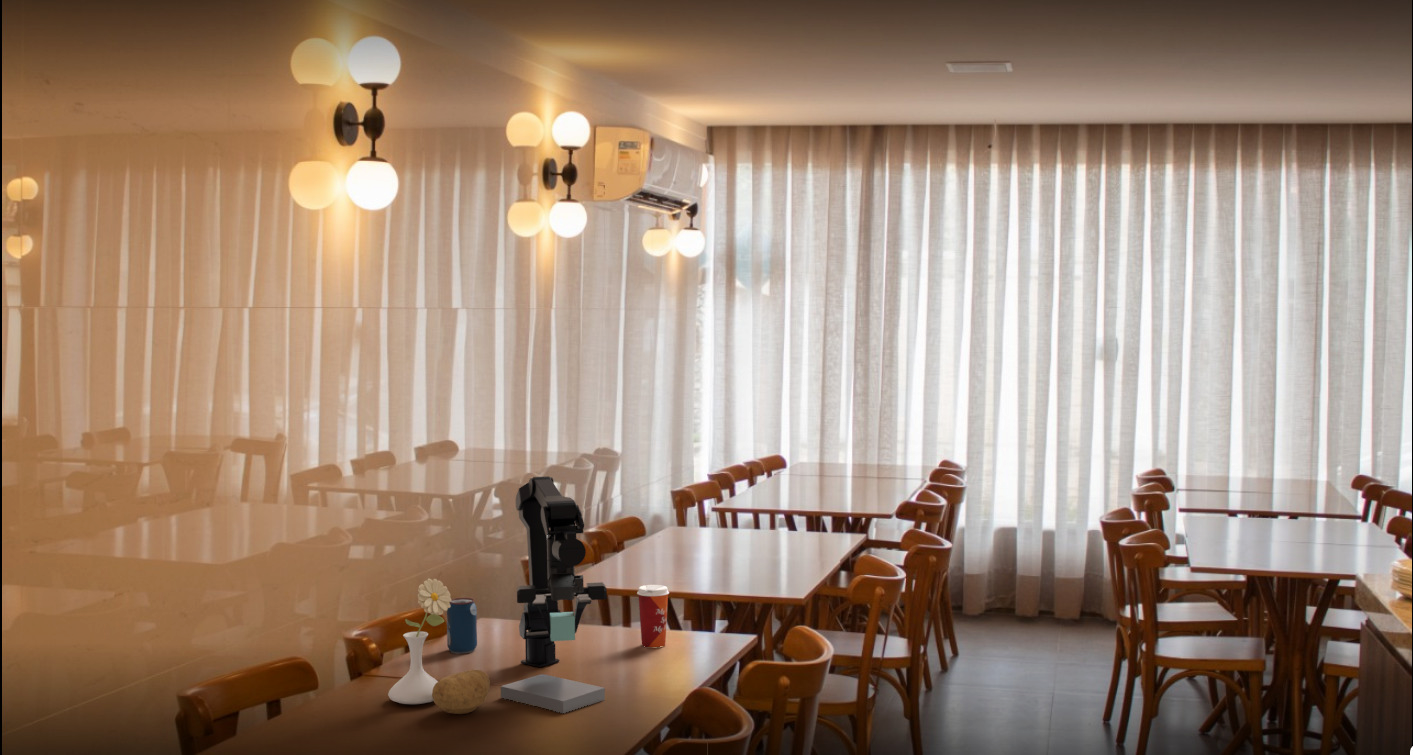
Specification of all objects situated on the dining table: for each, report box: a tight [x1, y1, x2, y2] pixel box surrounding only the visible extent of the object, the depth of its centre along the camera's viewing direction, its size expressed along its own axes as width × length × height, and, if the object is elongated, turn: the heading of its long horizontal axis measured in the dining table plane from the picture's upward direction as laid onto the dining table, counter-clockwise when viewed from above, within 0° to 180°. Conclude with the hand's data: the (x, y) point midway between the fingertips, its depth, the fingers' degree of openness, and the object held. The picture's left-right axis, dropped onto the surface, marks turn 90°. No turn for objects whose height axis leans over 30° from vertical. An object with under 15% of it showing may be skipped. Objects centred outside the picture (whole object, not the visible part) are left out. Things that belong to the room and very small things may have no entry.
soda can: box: [446, 597, 478, 655], centre depth 312 cm, size 7×7×12 cm
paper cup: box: [636, 584, 670, 648], centre depth 316 cm, size 8×8×14 cm
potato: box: [432, 668, 491, 715], centre depth 263 cm, size 10×14×8 cm
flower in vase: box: [387, 578, 452, 705], centre depth 270 cm, size 13×11×25 cm
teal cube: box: [550, 611, 576, 642], centre depth 279 cm, size 5×5×5 cm
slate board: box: [500, 673, 606, 714], centre depth 271 cm, size 18×12×2 cm, turn 52°
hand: (562, 633), depth 279 cm, fingers closed on teal cube, 5 cm apart
